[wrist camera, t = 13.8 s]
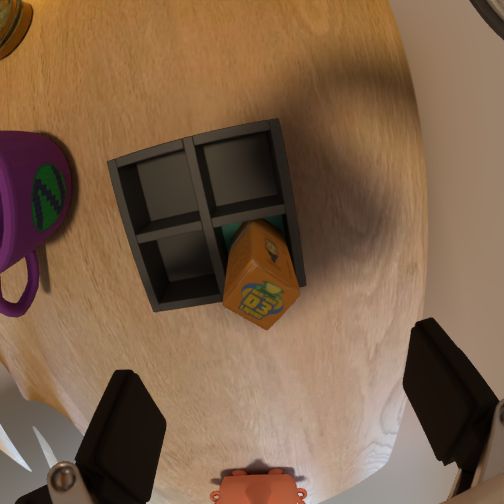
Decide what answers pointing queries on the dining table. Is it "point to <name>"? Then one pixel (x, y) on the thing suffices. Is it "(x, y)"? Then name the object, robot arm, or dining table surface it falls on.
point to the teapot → (259, 489)
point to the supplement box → (259, 274)
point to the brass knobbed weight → (13, 24)
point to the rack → (202, 208)
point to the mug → (29, 204)
